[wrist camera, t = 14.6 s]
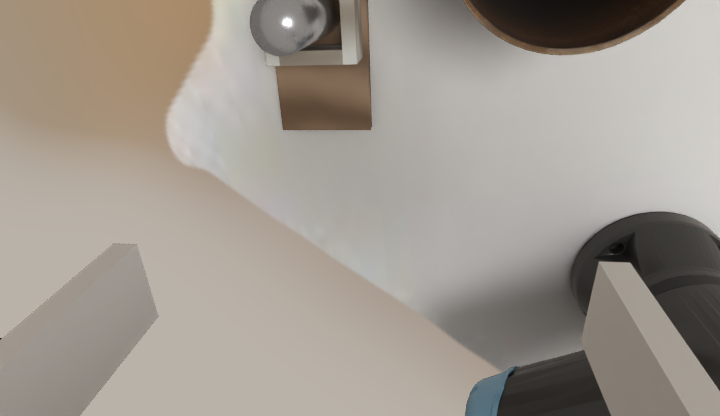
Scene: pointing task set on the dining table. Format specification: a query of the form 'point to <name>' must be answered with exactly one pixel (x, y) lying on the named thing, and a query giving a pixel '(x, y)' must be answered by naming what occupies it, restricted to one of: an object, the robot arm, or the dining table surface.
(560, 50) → the plant pot
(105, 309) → the robot arm
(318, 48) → the socket board
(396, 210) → the dining table surface
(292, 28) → the pin
